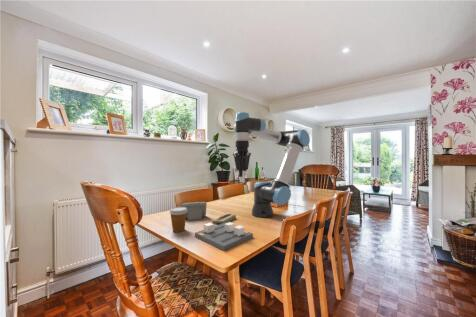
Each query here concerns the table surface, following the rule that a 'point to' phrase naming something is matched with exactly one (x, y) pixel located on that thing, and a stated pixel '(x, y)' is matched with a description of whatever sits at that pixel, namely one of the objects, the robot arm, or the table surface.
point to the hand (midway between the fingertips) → (242, 182)
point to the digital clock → (195, 210)
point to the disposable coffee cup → (178, 218)
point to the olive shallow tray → (224, 219)
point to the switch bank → (223, 237)
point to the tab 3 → (239, 230)
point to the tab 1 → (208, 227)
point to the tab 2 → (229, 227)
